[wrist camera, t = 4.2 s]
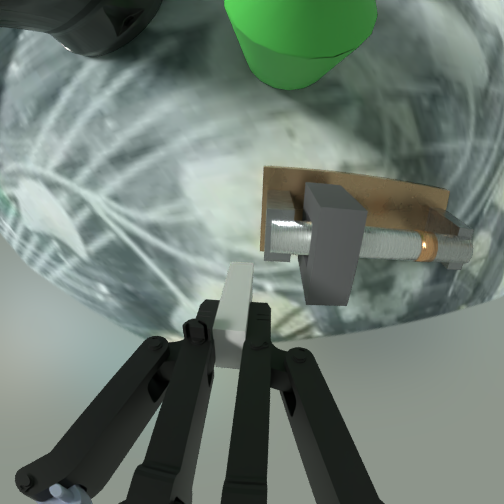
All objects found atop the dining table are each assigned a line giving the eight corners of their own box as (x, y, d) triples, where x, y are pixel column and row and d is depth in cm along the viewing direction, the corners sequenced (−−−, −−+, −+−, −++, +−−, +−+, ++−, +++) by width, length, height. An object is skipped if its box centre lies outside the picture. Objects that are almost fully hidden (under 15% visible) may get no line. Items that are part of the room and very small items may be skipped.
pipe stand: (260, 247, 34) (256, 292, 25) (263, 165, 29) (261, 183, 21) (429, 257, 33) (462, 295, 24) (445, 189, 28) (490, 213, 20)
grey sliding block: (297, 258, 30) (306, 304, 22) (305, 181, 26) (320, 206, 19) (329, 259, 30) (346, 305, 22) (340, 185, 26) (367, 211, 19)
